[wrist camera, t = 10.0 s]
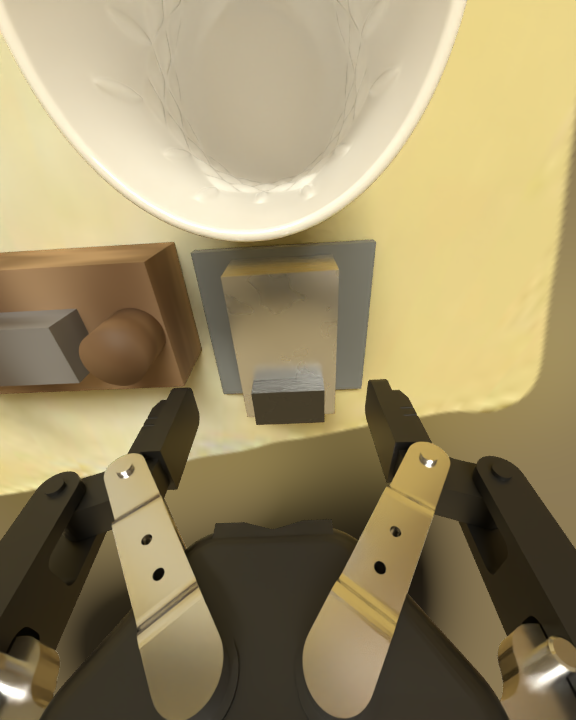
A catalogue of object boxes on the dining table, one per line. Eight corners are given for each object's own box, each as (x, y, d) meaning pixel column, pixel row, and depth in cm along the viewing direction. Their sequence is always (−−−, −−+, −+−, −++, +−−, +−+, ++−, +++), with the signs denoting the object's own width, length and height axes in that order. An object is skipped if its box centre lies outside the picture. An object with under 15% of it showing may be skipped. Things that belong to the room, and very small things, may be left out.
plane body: (-35, 360, 21) (-204, 461, 14) (-116, 259, 17) (-406, 327, 10) (201, 349, 20) (153, 449, 13) (174, 242, 16) (84, 301, 9)
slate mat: (225, 388, 22) (223, 393, 22) (193, 250, 17) (190, 252, 16) (359, 383, 22) (361, 388, 21) (373, 239, 16) (375, 242, 16)
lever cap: (231, 259, 16) (214, 285, 13) (331, 253, 16) (342, 278, 12) (252, 387, 21) (245, 431, 18) (329, 383, 21) (337, 427, 17)
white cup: (328, 215, 16) (372, 273, 7) (176, 180, 15) (27, 200, 6) (384, -9, 11) (654, -505, 3) (174, -76, 10) (-285, -1027, 2)
